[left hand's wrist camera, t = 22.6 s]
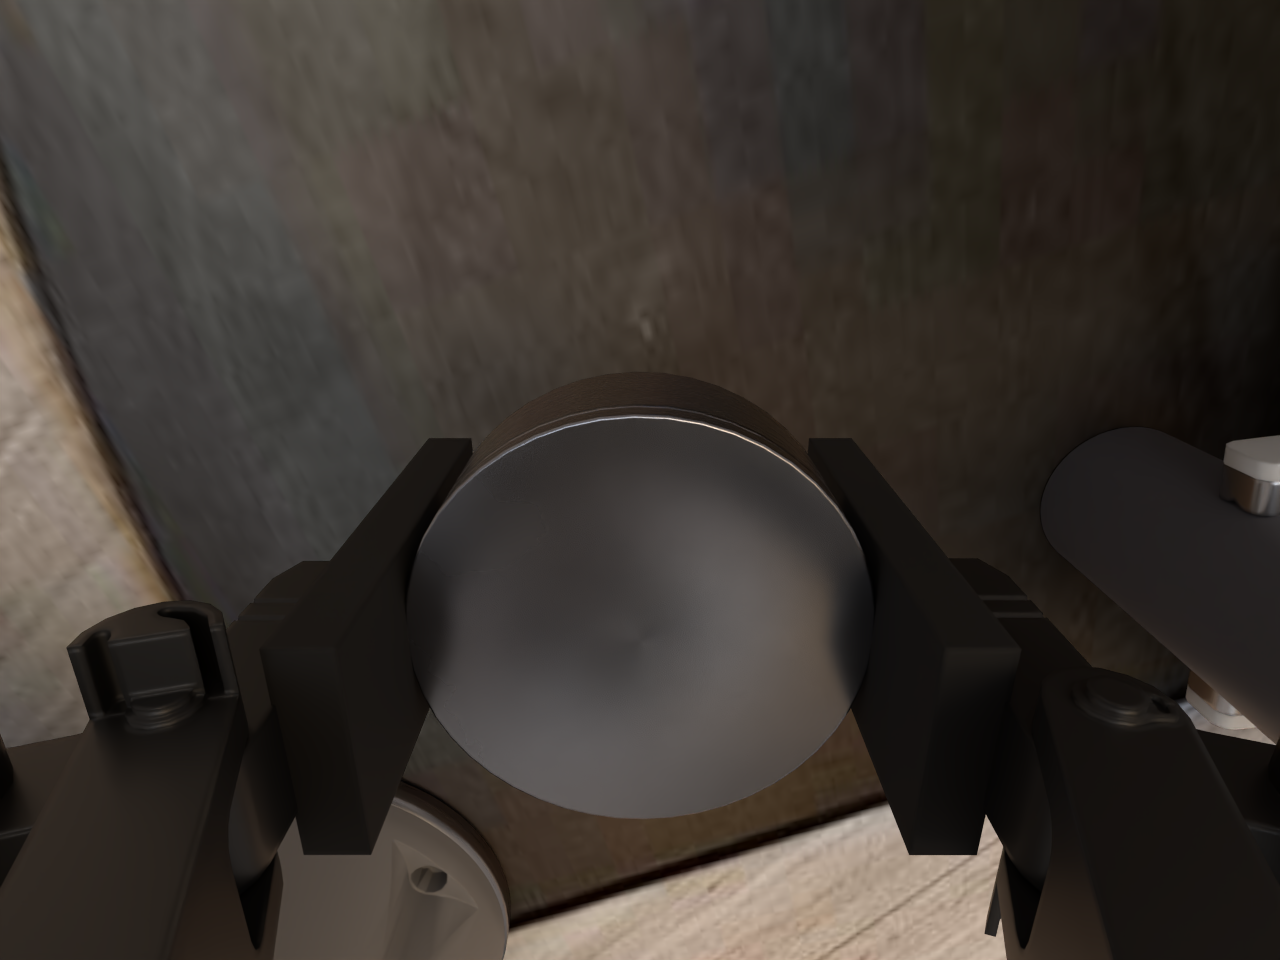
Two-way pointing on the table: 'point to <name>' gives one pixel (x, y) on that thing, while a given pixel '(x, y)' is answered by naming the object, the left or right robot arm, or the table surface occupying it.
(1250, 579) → the jar
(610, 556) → the lid
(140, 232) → the table surface
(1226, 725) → the right robot arm
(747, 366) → the table surface
